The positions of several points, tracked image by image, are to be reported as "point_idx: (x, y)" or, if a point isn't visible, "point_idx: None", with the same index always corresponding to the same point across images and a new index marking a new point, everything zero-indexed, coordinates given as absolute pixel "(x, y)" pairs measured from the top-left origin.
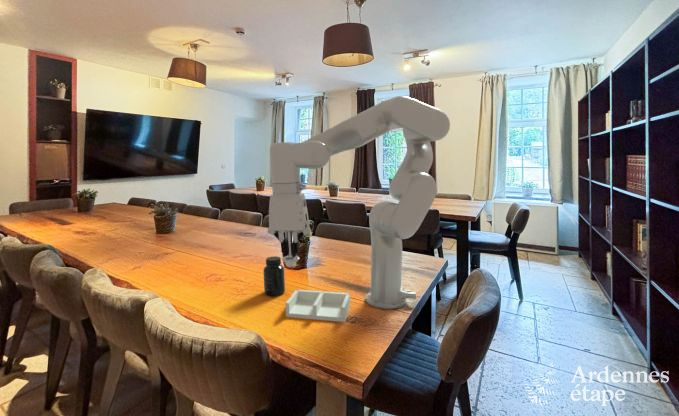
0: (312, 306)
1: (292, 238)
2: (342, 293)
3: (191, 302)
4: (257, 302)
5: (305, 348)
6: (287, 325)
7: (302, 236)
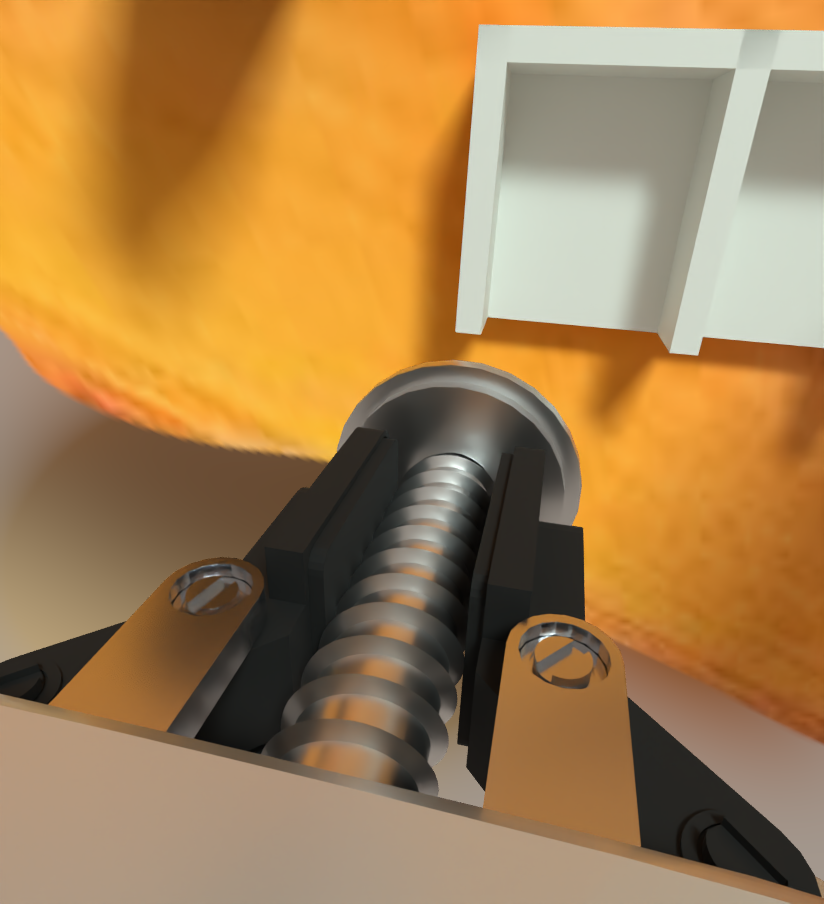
0: (643, 187)
1: (435, 717)
2: None
3: None
4: (203, 100)
5: (629, 598)
6: None
7: (712, 803)
